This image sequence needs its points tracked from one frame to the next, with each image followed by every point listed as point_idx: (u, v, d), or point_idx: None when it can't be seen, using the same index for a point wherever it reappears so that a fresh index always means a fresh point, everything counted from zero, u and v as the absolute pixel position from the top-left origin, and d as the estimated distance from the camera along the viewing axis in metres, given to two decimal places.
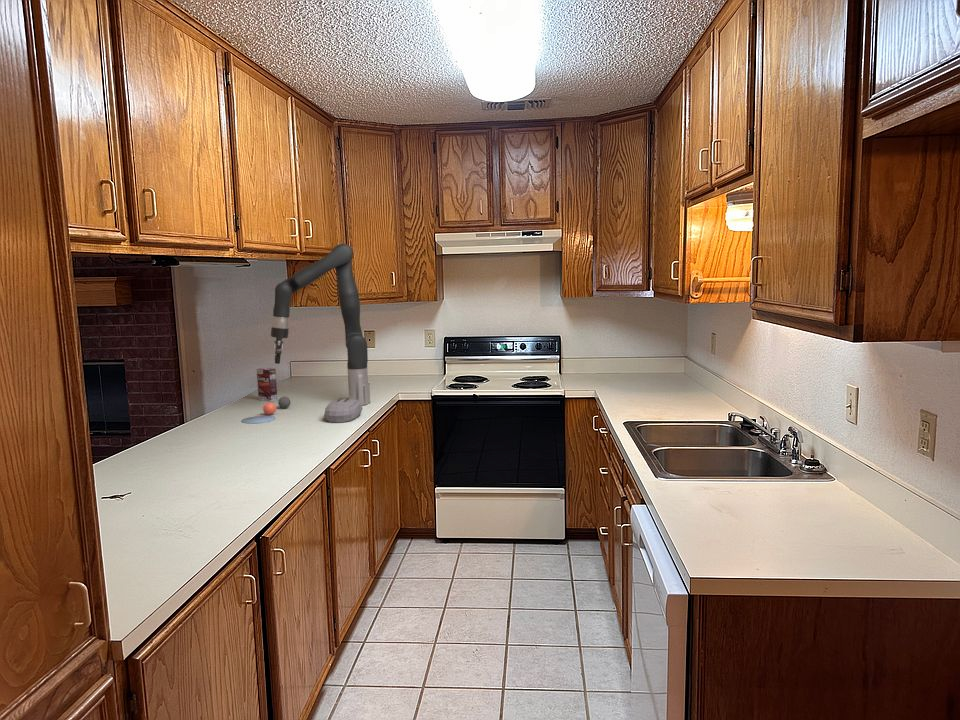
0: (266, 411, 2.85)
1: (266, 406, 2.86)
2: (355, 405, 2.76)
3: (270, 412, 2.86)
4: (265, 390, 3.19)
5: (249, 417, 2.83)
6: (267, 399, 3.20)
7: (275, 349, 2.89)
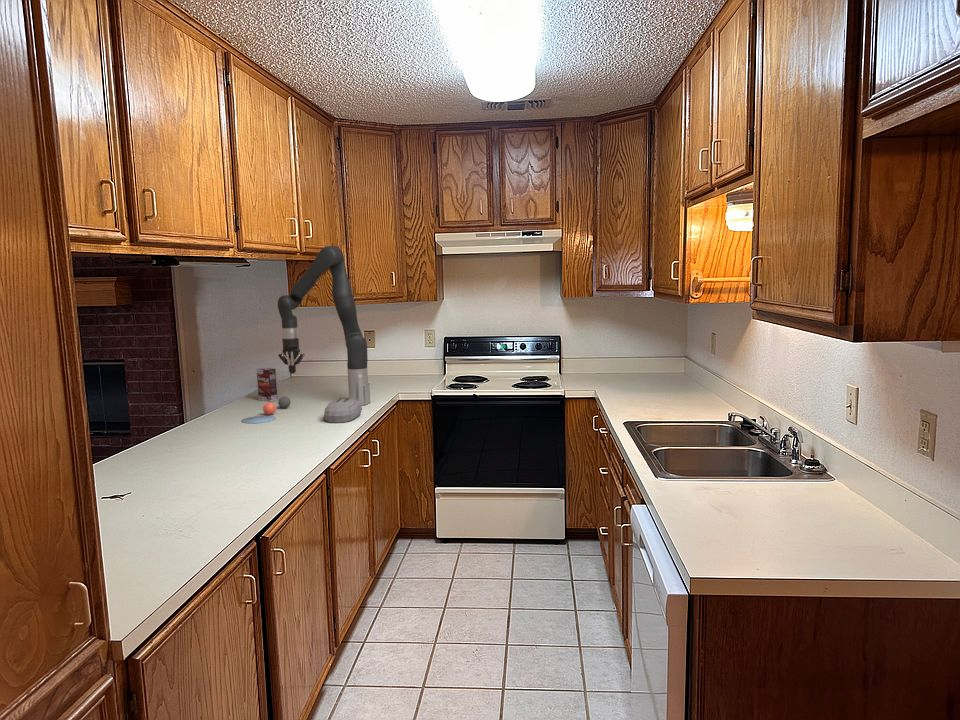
0: (266, 411, 2.85)
1: (266, 406, 2.86)
2: (355, 405, 2.75)
3: (270, 412, 2.86)
4: (265, 390, 3.19)
5: (249, 417, 2.83)
6: (267, 399, 3.20)
7: None
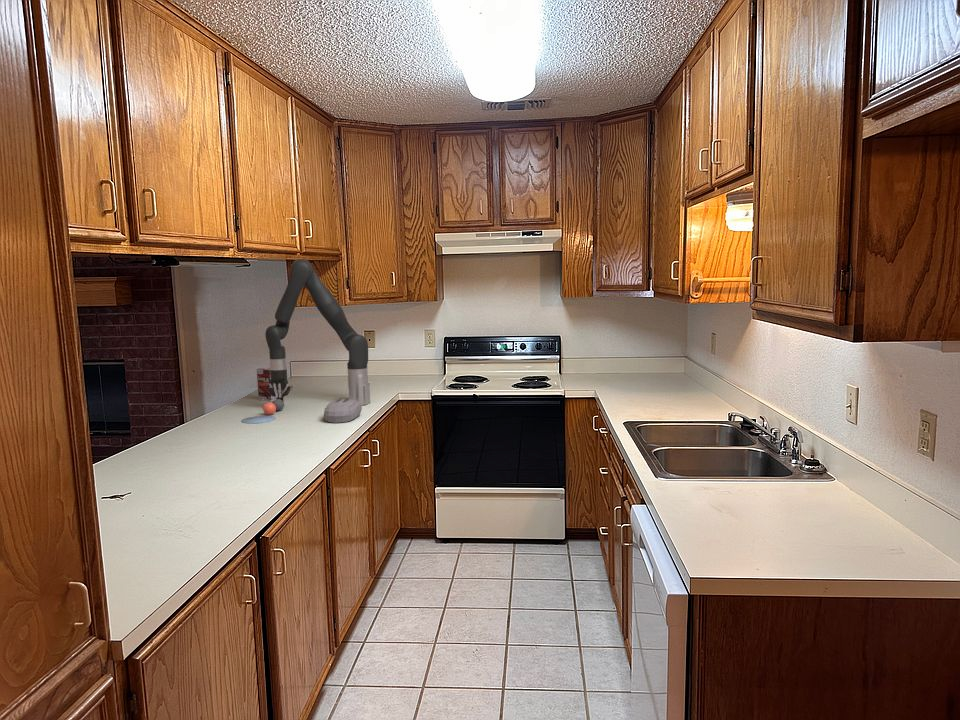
0: (266, 411, 2.85)
1: (266, 406, 2.86)
2: (354, 405, 2.75)
3: (270, 412, 2.86)
4: (265, 390, 3.19)
5: (249, 417, 2.83)
6: (267, 399, 3.20)
7: (277, 391, 3.01)
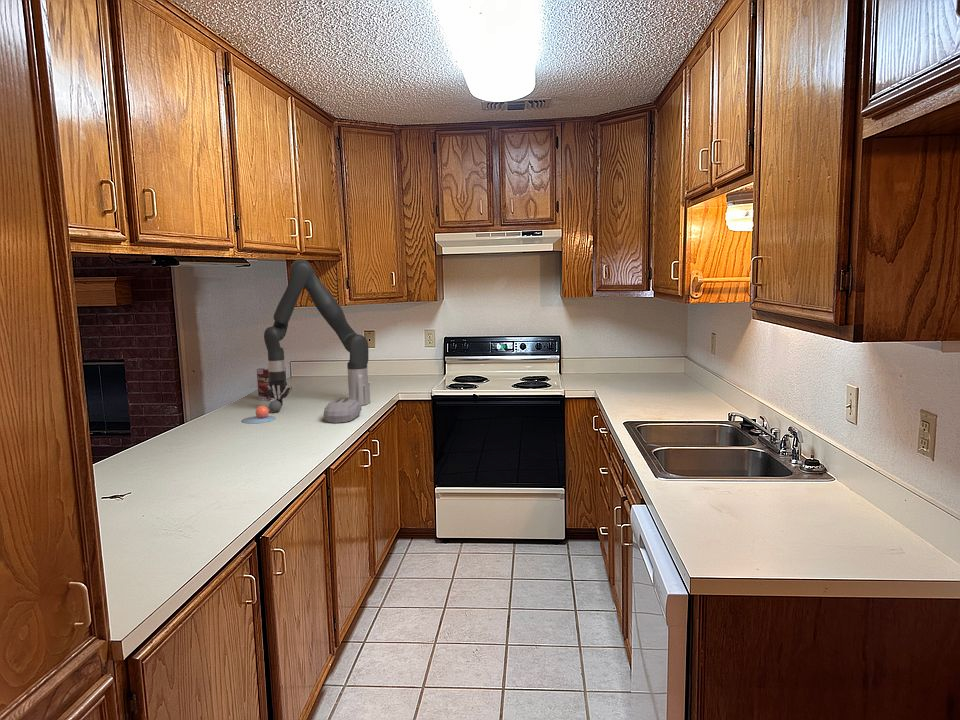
0: None
1: None
2: (354, 405, 2.75)
3: None
4: None
5: (249, 417, 2.83)
6: (267, 399, 3.20)
7: None
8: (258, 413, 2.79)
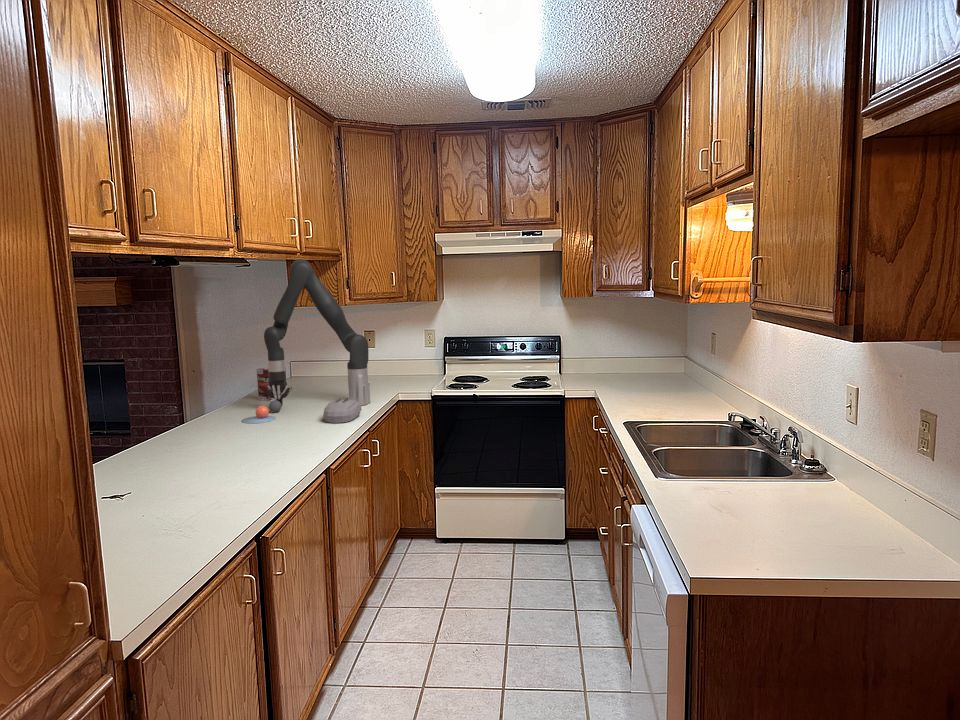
0: None
1: None
2: (354, 406, 2.75)
3: None
4: None
5: (249, 417, 2.83)
6: (267, 399, 3.20)
7: None
8: (258, 413, 2.79)
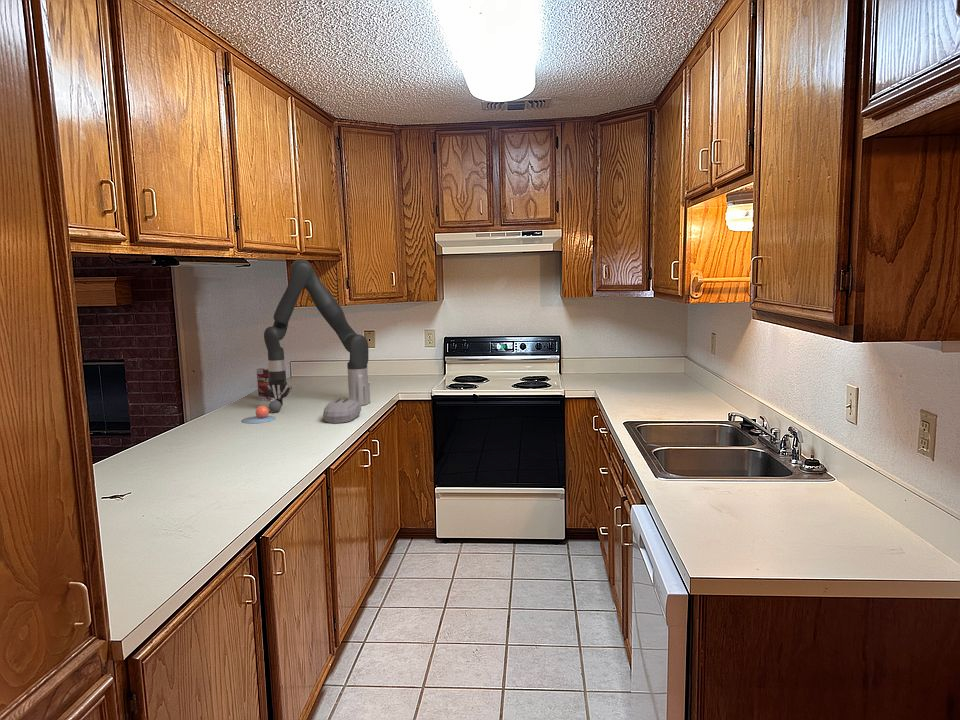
0: None
1: None
2: (354, 406, 2.74)
3: None
4: (265, 390, 3.19)
5: (249, 417, 2.83)
6: (267, 399, 3.20)
7: None
8: (258, 413, 2.79)
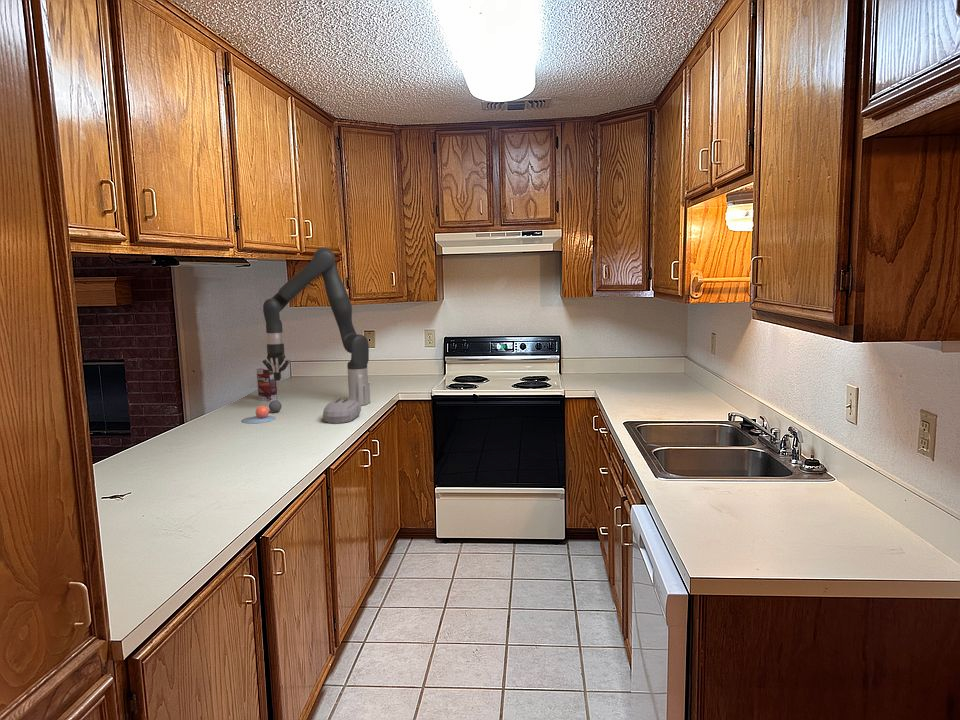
0: None
1: None
2: (354, 406, 2.74)
3: None
4: (265, 390, 3.19)
5: (249, 417, 2.83)
6: (267, 399, 3.20)
7: None
8: (258, 413, 2.79)
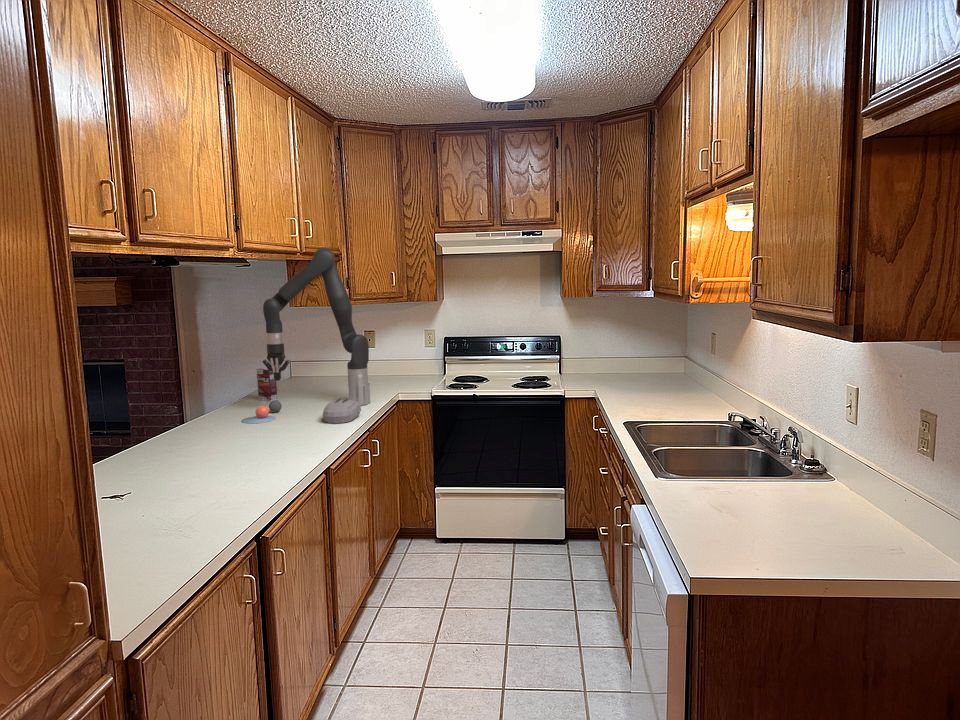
0: None
1: None
2: (353, 406, 2.74)
3: None
4: (265, 390, 3.19)
5: (249, 417, 2.83)
6: (267, 399, 3.20)
7: None
8: (258, 413, 2.79)
